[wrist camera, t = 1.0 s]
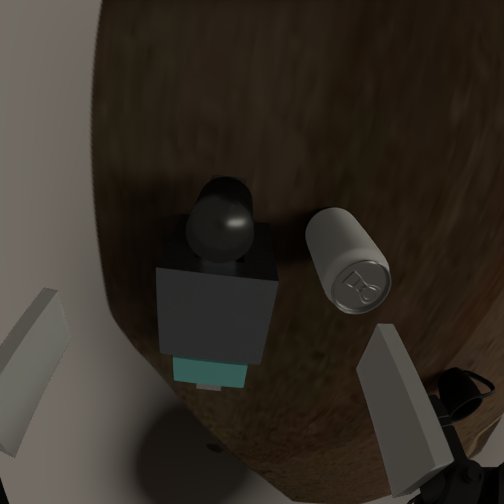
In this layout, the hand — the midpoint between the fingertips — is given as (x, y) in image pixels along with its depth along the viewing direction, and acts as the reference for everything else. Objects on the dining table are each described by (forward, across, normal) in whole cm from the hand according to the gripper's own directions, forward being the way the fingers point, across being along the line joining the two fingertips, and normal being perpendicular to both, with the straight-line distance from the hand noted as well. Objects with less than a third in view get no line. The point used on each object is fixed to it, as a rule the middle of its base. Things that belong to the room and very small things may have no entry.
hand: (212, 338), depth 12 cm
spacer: (+21, -1, -19) cm, 29 cm away
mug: (+25, +49, -32) cm, 63 cm away
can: (+25, +12, -5) cm, 28 cm away
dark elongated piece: (+18, -1, -11) cm, 21 cm away
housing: (+24, -1, -10) cm, 26 cm away
